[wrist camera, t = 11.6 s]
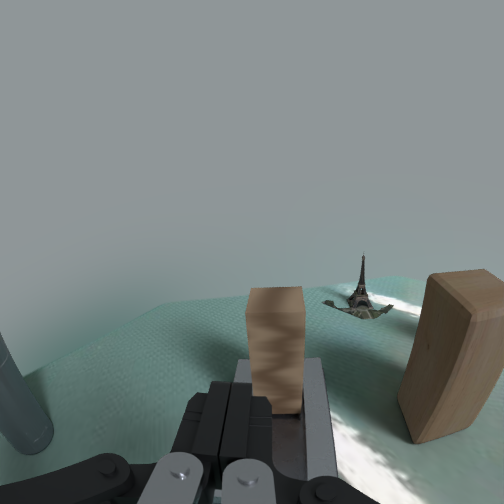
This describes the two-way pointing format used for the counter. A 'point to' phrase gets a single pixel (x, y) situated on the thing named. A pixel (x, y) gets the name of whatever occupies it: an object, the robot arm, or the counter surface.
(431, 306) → the wooden block
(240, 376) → the chute
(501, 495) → the counter surface
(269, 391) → the block
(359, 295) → the eiffel tower figurine
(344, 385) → the counter surface
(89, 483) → the robot arm
